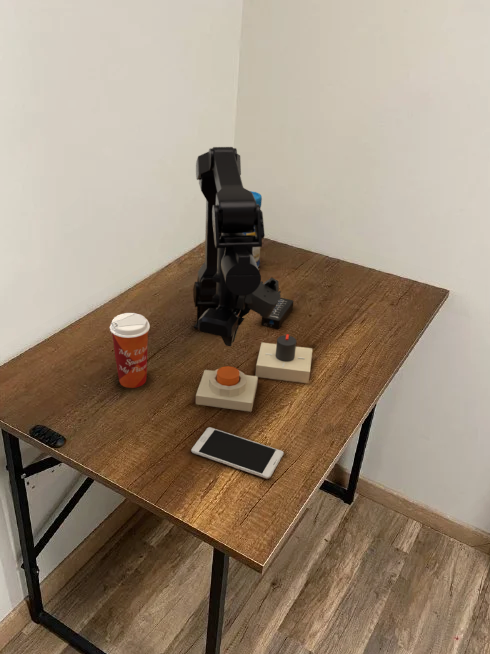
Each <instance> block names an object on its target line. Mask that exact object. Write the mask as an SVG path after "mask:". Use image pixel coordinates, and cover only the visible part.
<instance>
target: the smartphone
mask: <svg viewBox="0 0 490 654" xmlns="http://www.w3.org/2000/svg"><path fill="white" fill-rule="evenodd" d="M190 451H191V453H192V454H194V455H197V456H200V457H202V458H205V459H209V460H211V461H214V462H217V463H220V464H223V465H225V466H228V467H232V468H235V469H237V470H240V471H243V472H247V473H249V474H252V475H255V476H257V477H260V478H263V479H266V480H268V479H271V477H272V476H273V473H274V472H275V471H276V468H277V467H278V465H279V463H280V461H281V460H282V458H283V456H284V455H285V453H284V451H283V450H281V449H278V448H274V447H272V446H269V445H265V444H263V443H260V442H257V441H253V440H250V439H247V438H244V437H242V436H238V435H235V434H232V433H229V432H226V431H223V430H221V429H217V428H214V427H210V426H209V427H207V428H206V429H205V431H204V432H203V433H202V435H200V437H199V438H198V440H197V441H196V442H195V444H193V447H192V448H191V449H190Z"/></svg>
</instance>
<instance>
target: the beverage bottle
mask: <svg viewBox="0 0 490 654" xmlns="http://www.w3.org/2000/svg"><path fill="white" fill-rule="evenodd" d="M249 191H250V192H252V193H253V195H254V198H255V200H256V204H259V206H260V209H261V207H262V203H263V202H262V201H263V198H262V197H263V196H262V194H260V193H259V192H257V191H252V190H249ZM244 234H245V235H255V238H256V234H255V226H254V232H253V233H244ZM252 253H253V257H254V259H255V262H256V264H257V267H258V268H259V266H260V262H261V260H260V258H261V247H253V250H252Z"/></svg>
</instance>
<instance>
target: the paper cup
mask: <svg viewBox="0 0 490 654" xmlns="http://www.w3.org/2000/svg"><path fill="white" fill-rule="evenodd" d="M150 325H151V324H150V322H149V320H148V319H147V318H146V317H145V316H144V315H143V314H140V313H136V312H124V313H120V314H118V315H116V316H114V317H113V319H112V320H111V323H110V326H109V331H110V332H111V336H112V342H113V351H114V358H115V363H116V371H117V377H118V381H119V384H120V385H121V387H123V388H129V389H134V388H135V389H136V388H139V387H142V386H143V385H144V384H146V383H147V376H148V375H147V374H148V345H149V344H148V343H149V330H150V328H151V326H150Z"/></svg>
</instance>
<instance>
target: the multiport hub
mask: <svg viewBox="0 0 490 654" xmlns="http://www.w3.org/2000/svg"><path fill="white" fill-rule="evenodd" d="M294 301H295V300H292V299H288V298H284V297H280V299H279V300H278V302H277V304H276V306H275V308H274V310H273V311H272V313H271V314H270V316H269V317H268V318H264V317H262V316H261V324H260V325H262V326H264V327H268V328H272V329H277V330H278V329H280V328H281V327H282V325H283V324H284V322H285V321H286V319H288V317H289V316H290V314H291V313H292V311H293V309H294Z"/></svg>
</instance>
